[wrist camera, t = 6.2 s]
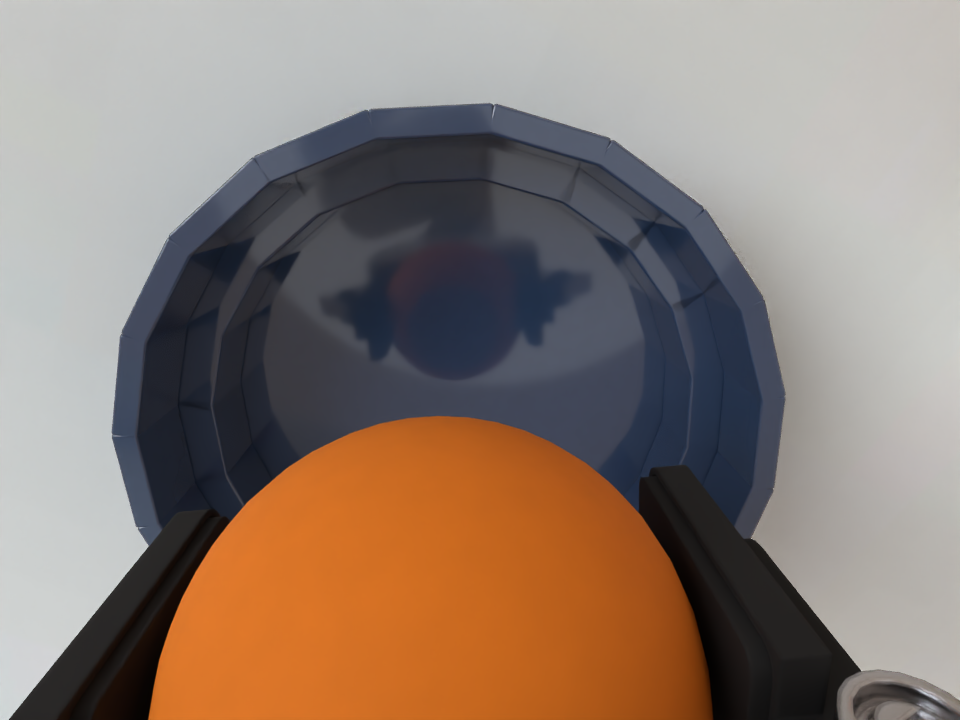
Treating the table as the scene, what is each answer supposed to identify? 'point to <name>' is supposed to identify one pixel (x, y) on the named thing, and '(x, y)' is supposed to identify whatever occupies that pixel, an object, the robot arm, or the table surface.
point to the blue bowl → (445, 313)
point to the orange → (435, 591)
